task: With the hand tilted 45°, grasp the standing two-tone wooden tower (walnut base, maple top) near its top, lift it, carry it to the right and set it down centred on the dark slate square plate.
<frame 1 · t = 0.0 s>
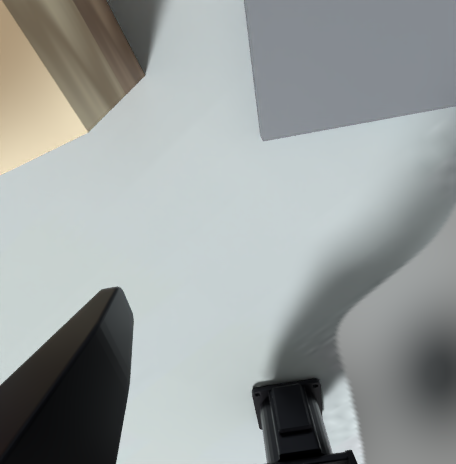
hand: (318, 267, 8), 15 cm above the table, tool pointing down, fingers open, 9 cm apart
tower: (84, 51, 18), on the table
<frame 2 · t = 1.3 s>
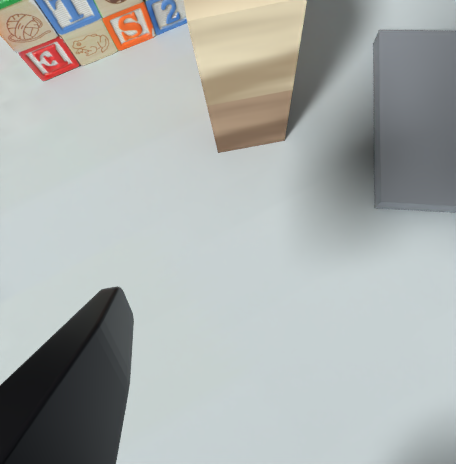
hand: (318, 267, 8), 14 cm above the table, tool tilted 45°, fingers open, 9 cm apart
tower: (245, 117, 24), on the table
stack of blocks: (162, 2, 27), on the table
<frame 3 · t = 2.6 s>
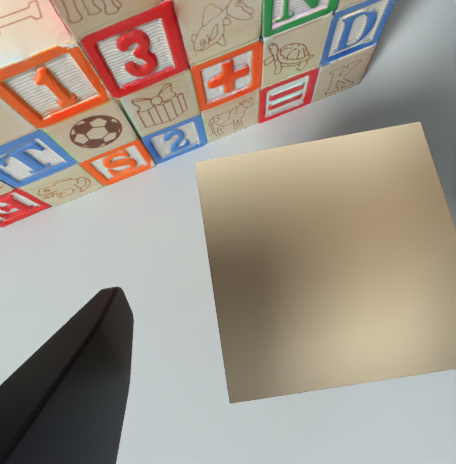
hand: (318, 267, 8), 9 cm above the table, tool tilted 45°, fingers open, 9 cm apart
tower: (285, 293, 17), on the table
stack of blocks: (165, 113, 20), on the table
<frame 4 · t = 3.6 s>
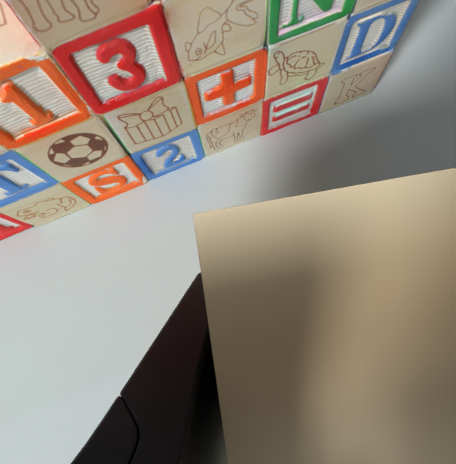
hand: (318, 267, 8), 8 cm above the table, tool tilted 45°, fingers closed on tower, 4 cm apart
tower: (293, 321, 16), on the table, touching gripper
stack of blocks: (159, 123, 19), on the table
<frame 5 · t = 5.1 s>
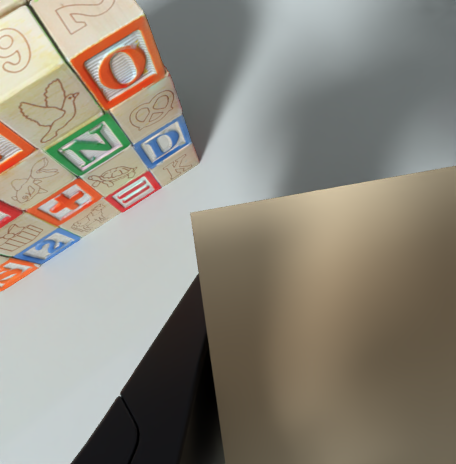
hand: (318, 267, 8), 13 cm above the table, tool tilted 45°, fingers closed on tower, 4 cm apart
tower: (292, 321, 16), point 5 cm above the table, touching gripper
stack of blocks: (45, 216, 24), on the table
when the fingers open (10 cm above the table, at t = 6.7 s): tower stays where it is, resting on plate.
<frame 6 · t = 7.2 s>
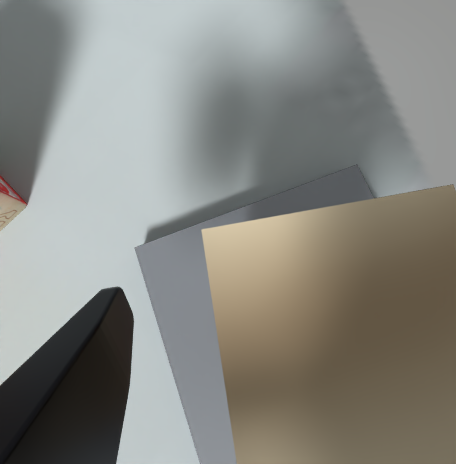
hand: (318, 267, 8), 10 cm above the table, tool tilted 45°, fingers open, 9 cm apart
tower: (291, 321, 16), point 1 cm above the table, touching plate
plate: (289, 320, 18), on the table
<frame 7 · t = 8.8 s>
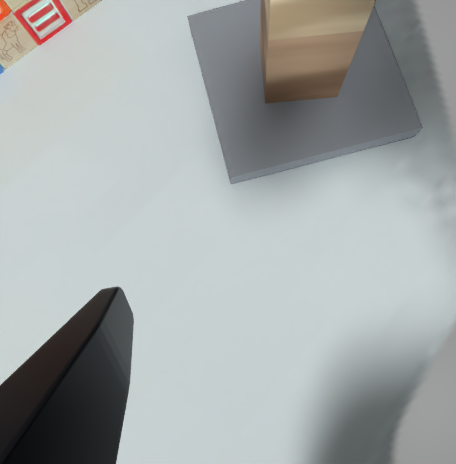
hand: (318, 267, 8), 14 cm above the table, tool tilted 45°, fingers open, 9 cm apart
tower: (297, 68, 23), point 1 cm above the table, touching plate
plate: (295, 80, 24), on the table
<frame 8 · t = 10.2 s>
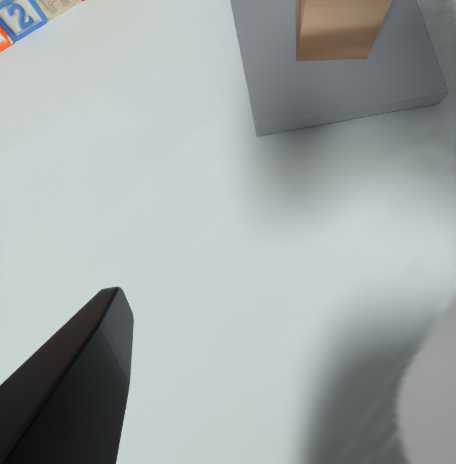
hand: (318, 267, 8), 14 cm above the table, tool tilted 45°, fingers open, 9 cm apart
tower: (329, 30, 24), point 1 cm above the table, touching plate
stack of blocks: (18, 10, 28), on the table
plate: (326, 44, 25), on the table
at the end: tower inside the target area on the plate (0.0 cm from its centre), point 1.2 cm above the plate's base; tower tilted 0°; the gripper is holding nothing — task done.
